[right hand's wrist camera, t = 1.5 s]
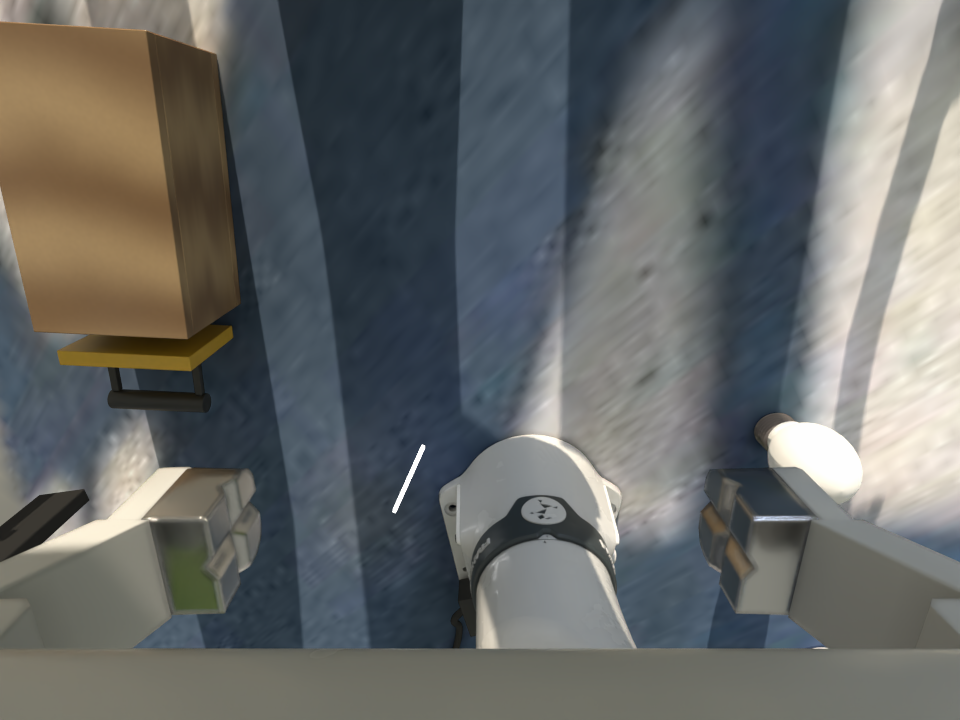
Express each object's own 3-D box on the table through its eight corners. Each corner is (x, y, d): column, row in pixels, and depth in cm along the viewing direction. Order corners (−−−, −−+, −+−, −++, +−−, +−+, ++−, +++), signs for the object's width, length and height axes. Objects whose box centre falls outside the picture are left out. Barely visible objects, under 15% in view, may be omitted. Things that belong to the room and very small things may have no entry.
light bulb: (734, 455, 58) (789, 522, 48) (751, 394, 55) (813, 451, 45) (799, 460, 58) (868, 529, 48) (819, 400, 56) (896, 458, 45)
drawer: (239, 392, 54) (199, 433, 47) (131, 387, 54) (73, 427, 47) (209, 112, 46) (155, 106, 38) (81, 105, 46) (0, 97, 38)
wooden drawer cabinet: (241, 303, 52) (187, 339, 43) (115, 297, 52) (33, 332, 43) (216, 53, 45) (145, 29, 36) (71, 45, 45) (-40, 19, 35)
